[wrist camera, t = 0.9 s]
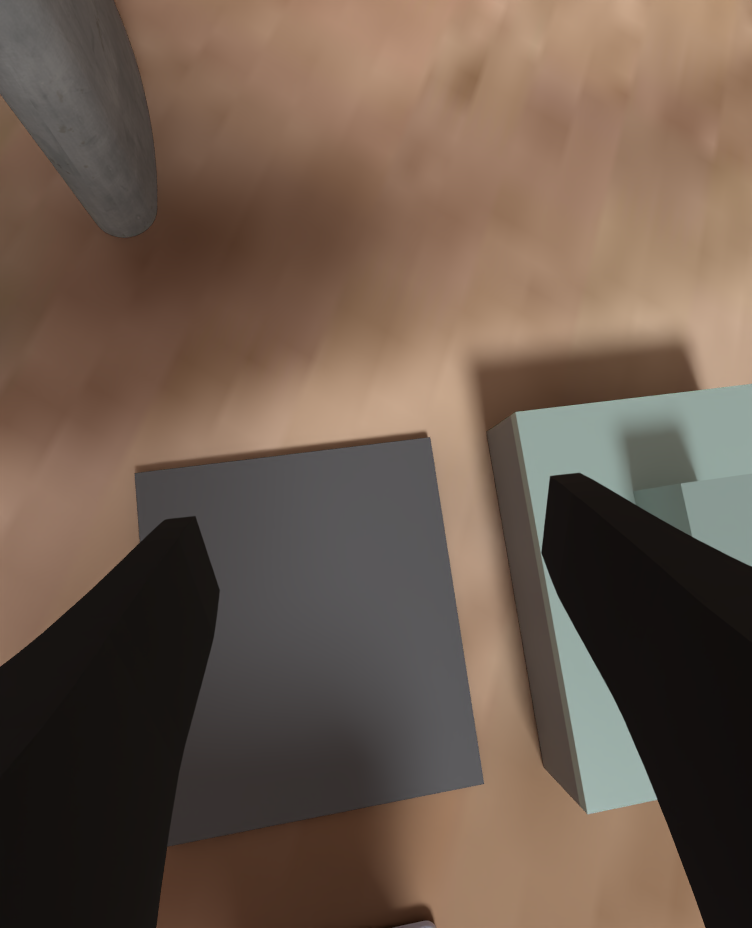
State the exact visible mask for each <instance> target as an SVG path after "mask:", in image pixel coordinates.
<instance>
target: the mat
mask: <svg viewBox="0 0 752 928" xmlns="http://www.w3.org/2000/svg"><path fill="white" fill-rule="evenodd" d="M135 485H136V498H137V511H138V524H139V537H140V542H141V541H142V540H143V539H144V538H145V537H146V536H147V535H148V534H149V533H150V532H151V531H153V530H154V529H155V528H156V527H157V526H158V525H159V524H160V523H161V522H163V521H164V520H165V519H172V518H181V517H190V516H196V519H197V522H198V525H199V528H200V531H201V534H202V537H203V540H204V543H205V547H206V550H207V553H208V556H209V559H210V562H211V565H212V568H213V571H214V574H215V577H216V580H217V583H218V586H219V589H220V594H219V603H218V612H217V620H216V627H215V634H214V639H213V643H212V647H211V651H210V655H209V659H208V662H207V666H206V670H205V674H204V678H203V681H202V685H201V689H200V692H199V696H198V700H197V704H196V707H195V711H194V715H193V718H192V722H191V726H190V730H189V733H188V737H187V741H186V744H185V749H184V753H183V758H182V762H181V766H180V771H179V776H178V782H177V788H176V794H175V800H174V806H173V812H172V818H171V824H170V831H169V838H168V844H167V847H168V846H173V845H178V844H183V843H188V842H193V841H198V840H203V839H208V838H213V837H218V836H223V835H228V834H233V833H238V832H244V831H249V830H254V829H259V828H264V827H269V826H274V825H279V824H284V823H289V822H294V821H299V820H304V819H309V818H314V817H319V816H324V815H329V814H335V813H340V812H345V811H350V810H355V809H360V808H365V807H370V806H375V805H380V804H385V803H390V802H395V801H400V800H405V799H410V798H415V797H420V796H425V795H431V794H436V793H441V792H446V791H451V790H456V789H461V788H466V787H471V786H476V785H481V784H484V780H483V774H482V768H481V761H480V755H479V748H478V742H477V735H476V729H475V723H474V716H473V710H472V703H471V697H470V690H469V684H468V678H467V671H466V665H465V658H464V652H463V645H462V639H461V633H460V626H459V620H458V613H457V607H456V600H455V594H454V588H453V581H452V575H451V568H450V562H449V555H448V549H447V543H446V536H445V530H444V523H443V517H442V511H441V504H440V498H439V491H438V485H437V478H436V472H435V466H434V459H433V453H432V446H431V440H430V437H429V438H420V439H412V440H404V441H396V442H387V443H379V444H371V445H363V446H355V447H346V448H338V449H330V450H322V451H313V452H305V453H297V454H289V455H281V456H272V457H264V458H256V459H248V460H239V461H231V462H223V463H215V464H207V465H198V466H190V467H182V468H174V469H165V470H157V471H149V472H141V473H135Z"/></svg>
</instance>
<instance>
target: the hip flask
mask: <svg viewBox="0 0 752 928" xmlns="http://www.w3.org/2000/svg"><path fill="white" fill-rule="evenodd" d="M0 94H1V96H2V97H3V98H4V100H5V101H6V102H7V104H8V105H9V106H10V108H11V109H12V110H13V112H14V113H15V115H16V116H17V117H18V119H19V120H20V121H21V123H22V124H23V125H24V127H25V128H26V129H27V131H28V132H29V133H30V135H31V136H32V137H33V139H34V140H35V142H36V143H37V144H38V146H39V147H40V148H41V150H42V151H43V152H44V154H45V155H46V156H47V158H48V159H49V160H50V162H51V163H52V164H53V166H54V167H55V169H56V170H57V171H58V173H59V174H60V175H61V177H62V178H63V179H64V181H65V182H66V183H67V185H68V186H69V187H70V189H71V190H72V191H73V193H74V194H75V196H76V197H77V198H78V200H79V201H80V202H81V204H82V205H83V206H84V208H85V209H86V210H87V212H88V213H89V214H90V216H91V217H92V218H93V220H94V221H95V223H96V224H97V225H98V226H99V227H100V228H101V229H102V230H103V231H104V232H106V233H108V234H110V235H113V236H116V237H123V238H124V237H132V236H136V235H138V234H141V233H143V232H144V231H145V230H147V229H148V228H149V227H150V226H151V225H152V223H153V222H154V220H155V217H156V214H157V174H156V160H155V150H154V142H153V135H152V128H151V122H150V117H149V112H148V107H147V102H146V98H145V93H144V89H143V85H142V81H141V77H140V73H139V70H138V66H137V63H136V59H135V56H134V53H133V50H132V47H131V44H130V41H129V38H128V36H127V33H126V30H125V28H124V25H123V23H122V20H121V17H120V15H119V12H118V10H117V8H116V5H115V3H114V0H0Z"/></svg>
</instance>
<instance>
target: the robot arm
mask: <svg viewBox="0 0 752 928" xmlns="http://www.w3.org/2000/svg"><path fill="white" fill-rule="evenodd" d="M541 554H542V556H543V559H544V562H545V565H546V567H547V570H548V573H549V575H550V578H551V580H552V583H553V585H554V588H555V590H556V593H557V595H558V597H559V599H560V601H561V603H562V605H563V607H564V609H565V610H566V612H567V614H568V616H569V618H570V620H571V622H572V623H573V625H574V627H575V629H576V631H577V633H578V634H579V636H580V638H581V640H582V642H583V643H584V645H585V647H586V649H587V651H588V652H589V654H590V656H591V658H592V660H593V662H594V663H595V665H596V667H597V669H598V671H599V672H600V674H601V676H602V678H603V680H604V681H605V683H606V685H607V687H608V689H609V691H610V692H611V694H612V696H613V698H614V700H615V702H616V704H617V706H618V708H619V710H620V712H621V714H622V716H623V719H624V721H625V723H626V726H627V728H628V730H629V733H630V735H631V737H632V740H633V742H634V744H635V747H636V749H637V751H638V754H639V756H640V758H641V761H642V763H643V765H644V768H645V770H646V772H647V775H648V777H649V780H650V782H651V785H652V787H653V790H654V792H655V795H656V797H657V800H658V802H659V805H660V807H661V810H662V812H663V815H664V817H665V820H666V822H667V824H668V827H669V830H670V832H671V835H672V838H673V840H674V843H675V846H676V848H677V851H678V854H679V856H680V859H681V861H682V864H683V867H684V869H685V872H686V875H687V877H688V880H689V883H690V885H691V888H692V891H693V893H694V896H695V899H696V902H697V905H698V907H699V910H700V913H701V916H702V919H703V922H704V925H705V927H706V928H752V566H749V565H747V564H745V563H743V562H741V561H739V560H737V559H735V558H733V557H731V556H729V555H727V554H725V553H723V552H721V551H719V550H717V549H715V548H713V547H711V546H709V545H707V544H705V543H703V542H701V541H699V540H697V539H696V538H694V537H692V536H690V535H688V534H686V533H684V532H683V531H681V530H679V529H677V528H675V527H674V526H672V525H670V524H668V523H666V522H665V521H663V520H661V519H659V518H658V517H656V516H654V515H652V514H651V513H649V512H647V511H646V510H644V509H642V508H640V507H639V506H637V505H635V504H634V503H632V502H630V501H629V500H627V499H625V498H624V497H622V496H620V495H619V494H617V493H615V492H613V491H612V490H610V489H608V488H607V487H605V486H603V485H602V484H600V483H598V482H596V481H595V480H593V479H591V478H589V477H587V476H585V475H583V474H581V473H571V474H562V475H554V476H550V479H549V488H548V497H547V506H546V515H545V524H544V533H543V541H542V550H541ZM219 594H220V589H219V586H218V583H217V580H216V577H215V574H214V571H213V568H212V565H211V562H210V559H209V556H208V553H207V550H206V547H205V543H204V540H203V537H202V534H201V531H200V528H199V525H198V522H197V519H196V516H190V517H181V518H172V519H165V520H164V521H163V522H161V523H160V524H159V525H158V526H157V527H156V528H155V529H154V530H153V531H151V532H150V533H149V534H148V535H147V536H146V537H145V538H144V539H143V540H142V541H141V542H140V543H139V544H138V545H137V546H136V547H135V548H134V549H133V550H132V551H131V552H130V553H129V554H128V555H127V556H126V557H125V558H124V559H123V560H122V561H121V562H120V563H119V564H118V565H117V566H115V567H114V568H113V569H112V570H111V571H110V572H109V573H108V574H107V575H106V576H105V577H104V578H103V579H102V580H101V581H100V582H99V583H98V584H97V585H96V586H95V587H94V588H93V589H92V590H90V591H89V592H88V593H87V594H86V595H85V596H84V597H83V598H82V599H80V600H79V601H78V602H77V603H76V604H75V605H74V606H73V607H71V608H70V609H69V610H68V611H67V612H66V613H65V614H64V615H62V616H61V617H60V618H59V619H58V620H57V621H56V622H55V623H53V624H52V625H51V626H50V627H49V628H48V629H47V630H45V631H44V632H43V633H42V634H41V635H40V636H38V637H37V638H36V639H35V640H34V641H32V642H31V643H30V644H29V645H28V646H26V647H25V648H24V649H23V650H21V651H20V652H19V653H18V654H16V655H15V656H14V657H13V658H11V659H10V660H9V661H7V662H6V663H5V664H3V665H2V666H1V667H0V928H156V925H157V917H158V909H159V901H160V893H161V886H162V879H163V872H164V865H165V858H166V851H167V844H168V838H169V831H170V824H171V818H172V812H173V806H174V800H175V794H176V788H177V782H178V776H179V771H180V766H181V762H182V758H183V753H184V749H185V744H186V741H187V737H188V733H189V730H190V726H191V722H192V718H193V715H194V711H195V707H196V704H197V700H198V696H199V692H200V689H201V685H202V681H203V678H204V674H205V670H206V666H207V662H208V659H209V655H210V651H211V647H212V643H213V639H214V634H215V627H216V620H217V612H218V603H219ZM394 928H436V926H435V925H434V924H433V922H430V921H420V922H416V923H411V924H407V925H403V926H398V927H394Z"/></svg>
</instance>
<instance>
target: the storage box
mask: <svg viewBox="0 0 752 928" xmlns="http://www.w3.org/2000/svg"><path fill="white" fill-rule="evenodd" d="M487 438H488V443H489V449H490V455H491V461H492V467H493V473H494V479H495V484H496V490H497V496H498V502H499V508H500V514H501V520H502V525H503V531H504V537H505V543H506V549H507V555H508V561H509V566H510V572H511V578H512V584H513V590H514V596H515V602H516V607H517V613H518V619H519V625H520V631H521V637H522V643H523V648H524V654H525V660H526V666H527V672H528V678H529V684H530V689H531V695H532V701H533V707H534V713H535V719H536V725H537V730H538V736H539V742H540V748H541V754H542V760H543V766H544V768H545V769H546V770H547V771H548V773H549V774H550V775H551V776H552V777H553V778H554V779H555V780H556V781H557V782H558V783H559V784H560V785H561V786H562V787H563V789H564V790H565V791H566V792H567V793H568V794H569V795H570V796H571V797H572V798H573V799H574V800H575V801H576V802H577V803H578V805H579V806H580V803H579V797H578V792H577V786H576V780H575V775H574V769H573V763H572V758H571V752H570V747H569V741H568V735H567V730H566V724H565V718H564V713H563V707H562V702H561V696H560V690H559V685H558V679H557V674H556V668H555V662H554V657H553V651H552V645H551V640H550V634H549V629H548V623H547V617H546V612H545V606H544V600H543V595H542V589H541V584H540V578H539V572H538V567H537V561H536V555H535V550H534V544H533V539H532V533H531V527H530V522H529V516H528V510H527V505H526V499H525V494H524V488H523V482H522V477H521V471H520V465H519V460H518V454H517V449H516V443H515V437H514V432H513V426H512V421H511V415H510V416H509V417H507V418H506V419H504V420H503V421H502V422H500V423H499V424H497V425H496V426H494V427H493V428H491V429H490V430H488V431H487Z"/></svg>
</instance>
